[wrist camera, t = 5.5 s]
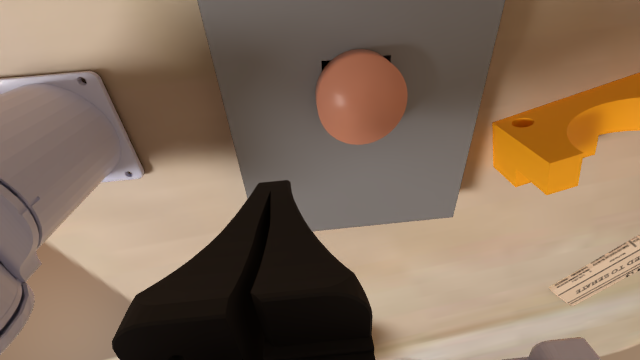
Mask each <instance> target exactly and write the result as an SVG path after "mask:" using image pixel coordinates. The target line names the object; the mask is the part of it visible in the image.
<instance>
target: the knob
mask: <svg viewBox="0 0 640 360" xmlns="http://www.w3.org/2000/svg"><path fill="white" fill-rule="evenodd" d="M407 97H408V93H407V86H406V83H405V80H404V78H403V76H402V74H401V73H400V71H399V70H398V69H397V68H396V67H395V66H394V65H393V64H392V63H391V62H389V61H388V60H387V59H386V58H385V57H383V56H382V55H380V54H379V53H376V52H374V51H371V50H366V49H355V50H350V51H346V52H344V53H342V54H340V55H338V56H336V57H335V58H334V59H332V60H331V61H330V62H329V63H328V64H327V65H326V66H325V68H324V69H323V70H322V72H321V74H320V76H319V78H318V81H317V85H316V91H315V98H316V105H317V110H318V115H319V118H320V121H321V123H322V125H323V127H324V128H325V129H326V131H327V132H328V133H329V134H330V135H331V136H333V137H334V138H336V139H337V140H339V141H341V142H344V143H348V144H354V145H362V144H368V143H372V142H375V141H377V140H379V139H381V138H383V137H384V136H386V135H387V134H389V133H390V132H391V131H392V130H393V129H394V128H395V127H396V126H397V124H398V123H399V122H400V120H401V118H402V117H403V114H404V112H405V109H406V105H407Z"/></svg>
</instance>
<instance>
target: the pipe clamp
mask: <svg viewBox="0 0 640 360" xmlns="http://www.w3.org/2000/svg"><path fill="white" fill-rule="evenodd" d="M492 126H493V165H494V168H495V169H497V170H498V171H499V172H500V173H501V174H502V175H503V176H504V177H505V178H506V179H507V180H508V181H510V182H511V183H512V184H513V185H514V186H515V187H517V186H521V185H524V184H527V183H530V182H532V183H533V184H534V185H535V186H536V187H538V188H539V189H540V190H541V191H542V192H544V193H545V194H546V195H549V194H552V193H555V192H559V191H562V190H565V189H569V188H572V187H575V186H578V182H579V176H580V170H581V164H582V159H583V158H585V157H588V156H591V155H595V151H596V146H597V141H598V136H599V135H601V134H606V133H612V132H620V131H633V130H640V73H637V74H634V75H631V76H628V77H625V78H622V79H619V80H616V81H613V82H611V83H608V84H605V85H602V86H599V87H596V88H593V89H590V90H587V91H584V92H581V93H578V94H575V95H572V96H569V97H566V98H563V99H561V100H558V101H555V102H552V103H549V104H546V105H543V106H540V107H537V108H534V109H531V110H528V111H525V112H522V113H519V114H516V115H514V116H511V117H508V118H505V119H502V120H499V121H496V122H493V123H492Z"/></svg>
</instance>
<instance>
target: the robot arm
mask: <svg viewBox="0 0 640 360" xmlns="http://www.w3.org/2000/svg"><path fill="white" fill-rule="evenodd" d="M81 77H82V78H84V79H85V80H86V82H87V83H84V82H82V80H81ZM128 172H131V173H132V174H129V173H128ZM143 175H144V170H143V167H142V165H141V163H140V161H139V159H138V157H137V155H136V152H135V150H134V148H133V146H132V144H131V142H130V140H129V138H128V135H127V133H126V131H125V129H124V127H123V125H122V123H121V120H120V118H119V116H118V114H117V112H116V110H115V108H114V105H113V103H112V101H111V99H110V97H109V95H108V93H107V90H106V88H105V86H104V84H103V82H102V80H101V78H100V76H99V75H98V74H97V73H95V72H93V71H83V72H72V73H60V74H48V75H36V76H25V77H13V78H1V79H0V355H1V354H2V353H3V352H4V351H5V350H6V348H7V347H8V346H9V345H10V344H11V343H12V341H13V340H14V339H15V338H16V337H17V335H18V334H19V333H20V331H21V330H22V329H23V327H24V325H25V324H26V322H27V321H28V319H29V317H30V314H31V312H32V310H33V306H34V302H35V301H34V293H33V291H32V289H31V287H30V286H29V285H28V284H27V283H25V282H26V281H27V280H28V279H29V278H30V276H31V275H32V274H33V273H34V272H35V271H36V270H37V269H38V267H39V266H40V265H41V264H42V263H41V261H40V260H39V259H38V257H37V254H36V250H37V249H38V248H39V247H40V246H41V245H42V244H43V243H44V242H45V241H46V240H47V238H48V237H49V236H50V235H51V234H52V233H53V232H54V231H55V230H56V229H57V228H58V227H59V226H60V225H61V224H62V223H63V222H64V221H65V220H66V218H67V217H68V216H69V215H70V214H71V213H72V212H73V211H74V210H75V209H76V208H77V207H78V206H79V205H80V204H81V203H82V202H83V201H84V199H85V198H86V197H87V196H88V195H89V194H90V193H91V192H92V191H93V190H94V189H95V188H96V187H97V186H98V185H99V184H100V183H101V182H110V181H121V180H131V179H140V178H141V177H142V176H143ZM371 332H372V310H371V306H370V304H369V301H368V298H367V296H366V294H365V292H364V290H363V288H362V286H361V284H360V282H359V281H358V279H357V277H356V275H355V274H354V273H353V272H352V271H350V270H349V269H348V268H347V267H345V266H344V265H343V264H342V263H341V262H340V261H338V260H337V259H336V258H335V257H334V256H333V255H332V254H331V253H330V252H329V251H328V250H327V249H326V248H325V246H324V245H323V244H322V243H321V242H320V241H319V240H318V238H317V237H316V236H315V235H314V233H313V232H312V231H311V229H310V228H309V226H308V225H307V223H306V222H305V220H304V218H303V216H302V215H301V213H300V211H299V209H298V207H297V205H296V203H295V200H294V198H293V195H292V189H291V182H290V181H288V180H282V181H271V182H261V183H258V185H257V186H256V187H255V189H254V190H253V192H252V193H251V195H250V196H249V198H248V199H247V201H246V202H245V204H244V205H243V206H242V208H241V209H240V210H239V212H238V213H237V214H236V216H235V217H234V218H233V219H232V220H231V221H230V223H229V224H228V225H227V226H226V227H225V229H224V230H223V231H222V232H221V233H220V234H219V235H218V236H217V237H216V238H215V239H214V240H213V241H212V242H211V243H210V244H209V245H207V246H206V247H205V248H204V249H203V250H201V251H200V252H199V253H198V254H197V255H195V256H194V257H193V258H192V259H191V260H189V261H188V262H187V263H185V264H184V265H183V266H181V267H180V268H178V269H177V270H176V271H174V272H173V273H171V274H170V275H168V276H167V277H165V278H164V279H162V280H160V281H159V282H157V283H156V284H154V285H152V286H151V287H149V288H147V289H146V290H144V291H142V292H141V293H139V294H137V295H136V296H135V298H134V299H133V301H132V303H131V305H130V306H129V308H128V310H127V312H126V314H125V316H124V318H123V320H122V322H121V324H120V326H119V328H118V330H117V332H116V334H115V337H114V338H113V341H112V347H113V350H114V352H115V353H116V355H117V357H118V358H119V359H120V360H375V356H374V344H373V340H372V335H371ZM504 360H601V359H600V357H599V356H598V355H597V354H596V353H595V351H594V350H593V349H592V348H591V346H590V345H589V344H588V343H587V341H586V340H585V339H584V338H581V337H577V338H568V339H558V340H549V341H544V342H541V343H539V344H537V345H535V346H534V347H533V348H532V350H531V352H530V355H529V357H522V358H513V359H504Z"/></svg>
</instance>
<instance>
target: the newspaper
mask: <svg viewBox="0 0 640 360" xmlns="http://www.w3.org/2000/svg"><path fill="white" fill-rule="evenodd" d="M639 270H640V235H638V236H636V237H635V238H633V239H631V240H630V241H628V242H626V243H624V244H623V245H621V246H619V247H617V248H616V249H614V250H612V251H611V252H609V253H607V254H605V255H604V256H602V257H600V258H599V259H597V260H595V261H593V262H592V263H590V264H588V265H587V266H585V267H583V268H581V269H580V270H578V271H576V272H574V273H573V274H571V275H569V276H568V277H566V278H564V279H562V280H561V281H559V282H557V283H556V284H554V285H552V286H550V287H549V288H550V289H551V291H552V292H554V293H555V294H556V295H557V296H558V297H559V298H561V299H562V300H563V301H565V302H566V303H567V304H569V305H571V306H574V305H576V304H578V303H579V302H581V301H583V300H585V299H587V298H589V297H591V296H592V295H594V294H596V293H598V292H600V291H602V290H604V289H606V288H607V287H609V286H611V285H613V284H615V283H617V282H619V281H620V280H622V279H624V278H626V277H628V276H630V275H632V274H633V273H635V272H637V271H639Z"/></svg>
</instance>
